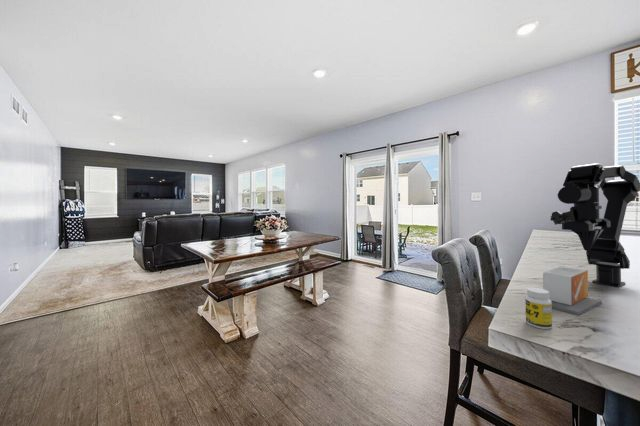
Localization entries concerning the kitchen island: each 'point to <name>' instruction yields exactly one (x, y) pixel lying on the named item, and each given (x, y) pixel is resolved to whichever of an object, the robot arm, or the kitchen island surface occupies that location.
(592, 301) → the mat
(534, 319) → the supplement bottle
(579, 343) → the kitchen island surface
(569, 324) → the kitchen island surface
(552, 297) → the small box
